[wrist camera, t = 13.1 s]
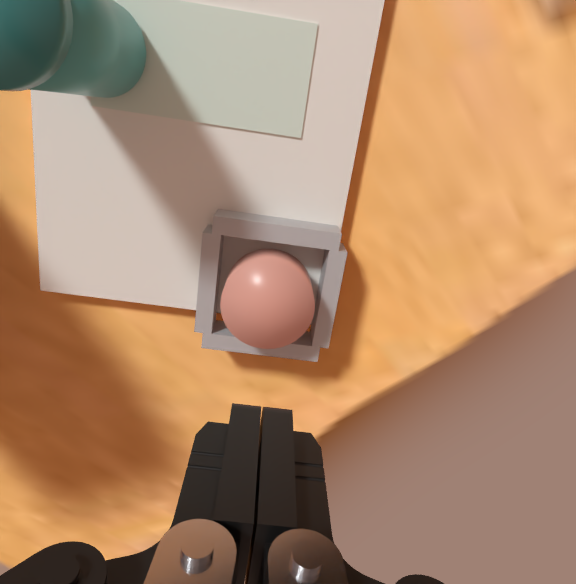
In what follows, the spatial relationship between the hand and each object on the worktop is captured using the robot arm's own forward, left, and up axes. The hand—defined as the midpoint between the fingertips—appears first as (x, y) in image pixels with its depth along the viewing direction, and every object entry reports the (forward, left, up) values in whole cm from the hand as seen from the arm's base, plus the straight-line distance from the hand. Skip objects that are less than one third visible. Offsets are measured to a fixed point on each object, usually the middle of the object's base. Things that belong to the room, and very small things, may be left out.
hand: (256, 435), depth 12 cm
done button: (0, 0, -11) cm, 11 cm away
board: (+4, -7, -12) cm, 15 cm away
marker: (+8, -9, -12) cm, 17 cm away
